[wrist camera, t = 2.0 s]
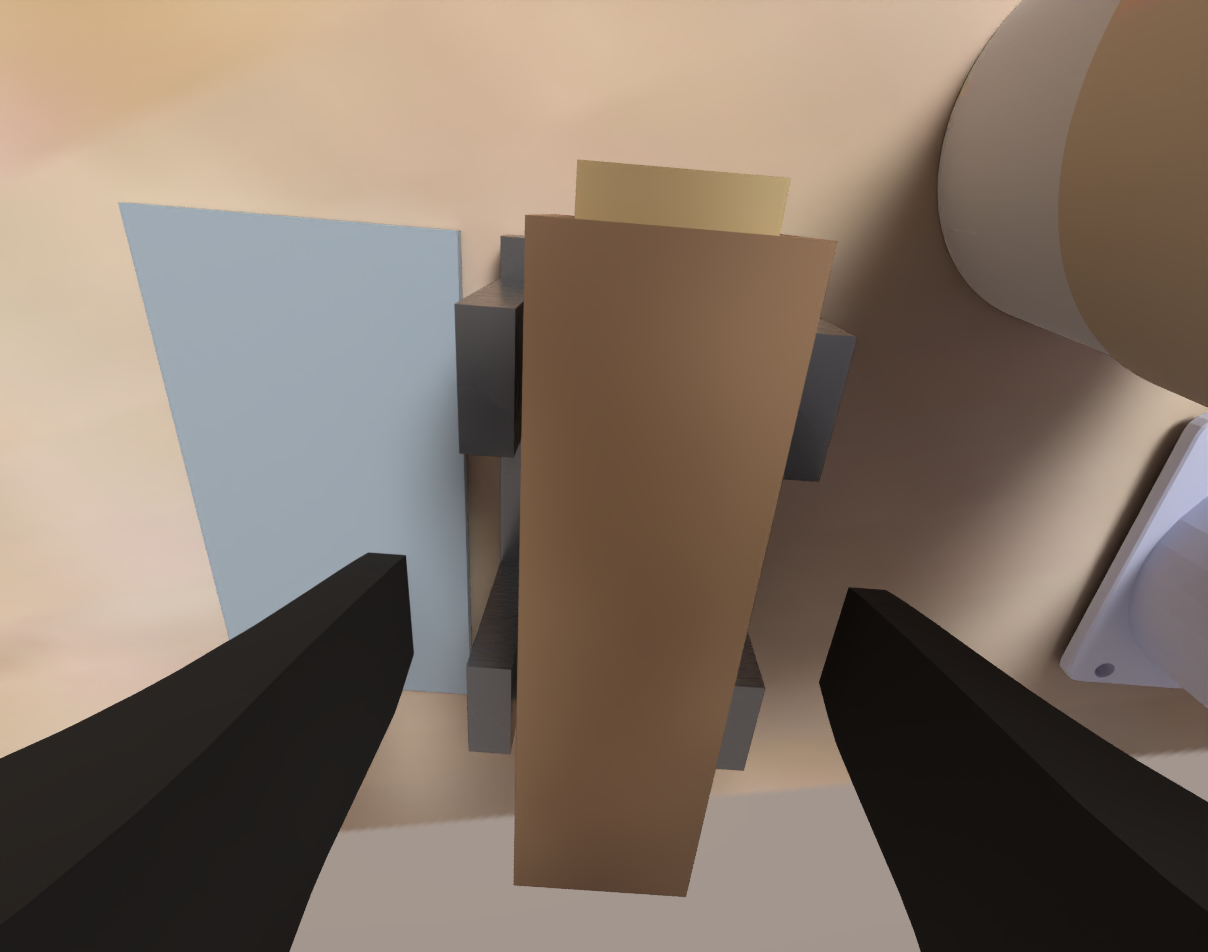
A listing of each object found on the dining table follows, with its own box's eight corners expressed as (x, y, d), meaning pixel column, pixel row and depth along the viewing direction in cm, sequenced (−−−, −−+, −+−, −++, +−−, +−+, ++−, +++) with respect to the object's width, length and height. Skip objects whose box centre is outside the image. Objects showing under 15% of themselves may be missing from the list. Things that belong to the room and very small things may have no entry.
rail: (771, 191, 9) (852, 179, 6) (668, 766, 15) (681, 914, 11) (557, 172, 9) (525, 151, 6) (535, 756, 15) (513, 903, 11)
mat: (460, 230, 12) (456, 231, 12) (472, 687, 18) (470, 694, 17) (129, 202, 12) (118, 202, 12) (244, 671, 17) (238, 678, 17)
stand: (786, 258, 12) (872, 280, 8) (708, 654, 17) (737, 794, 13) (507, 234, 12) (452, 245, 8) (505, 638, 17) (469, 776, 13)
